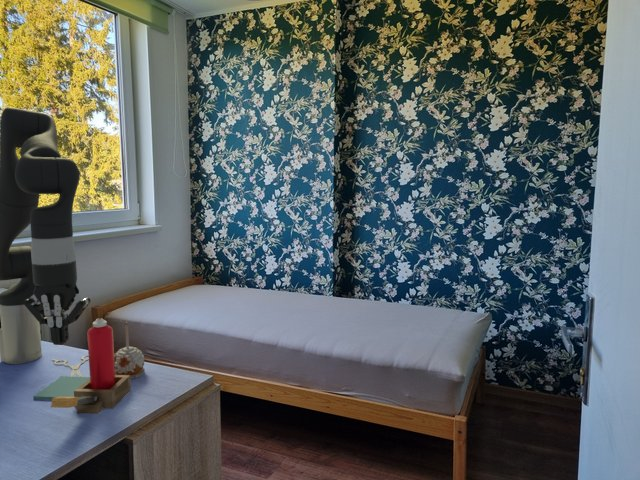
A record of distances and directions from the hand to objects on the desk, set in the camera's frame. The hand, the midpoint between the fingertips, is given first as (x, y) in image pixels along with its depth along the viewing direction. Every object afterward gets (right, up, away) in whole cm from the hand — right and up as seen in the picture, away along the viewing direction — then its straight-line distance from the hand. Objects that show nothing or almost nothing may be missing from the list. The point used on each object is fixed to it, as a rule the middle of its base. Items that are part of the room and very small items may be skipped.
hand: (60, 343), depth 90 cm
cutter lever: (0, -14, +6) cm, 16 cm away
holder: (0, -18, +16) cm, 24 cm away
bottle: (0, -18, +18) cm, 25 cm away
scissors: (-16, -16, +34) cm, 41 cm away
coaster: (-10, -17, +22) cm, 29 cm away
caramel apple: (+1, -16, +30) cm, 34 cm away
